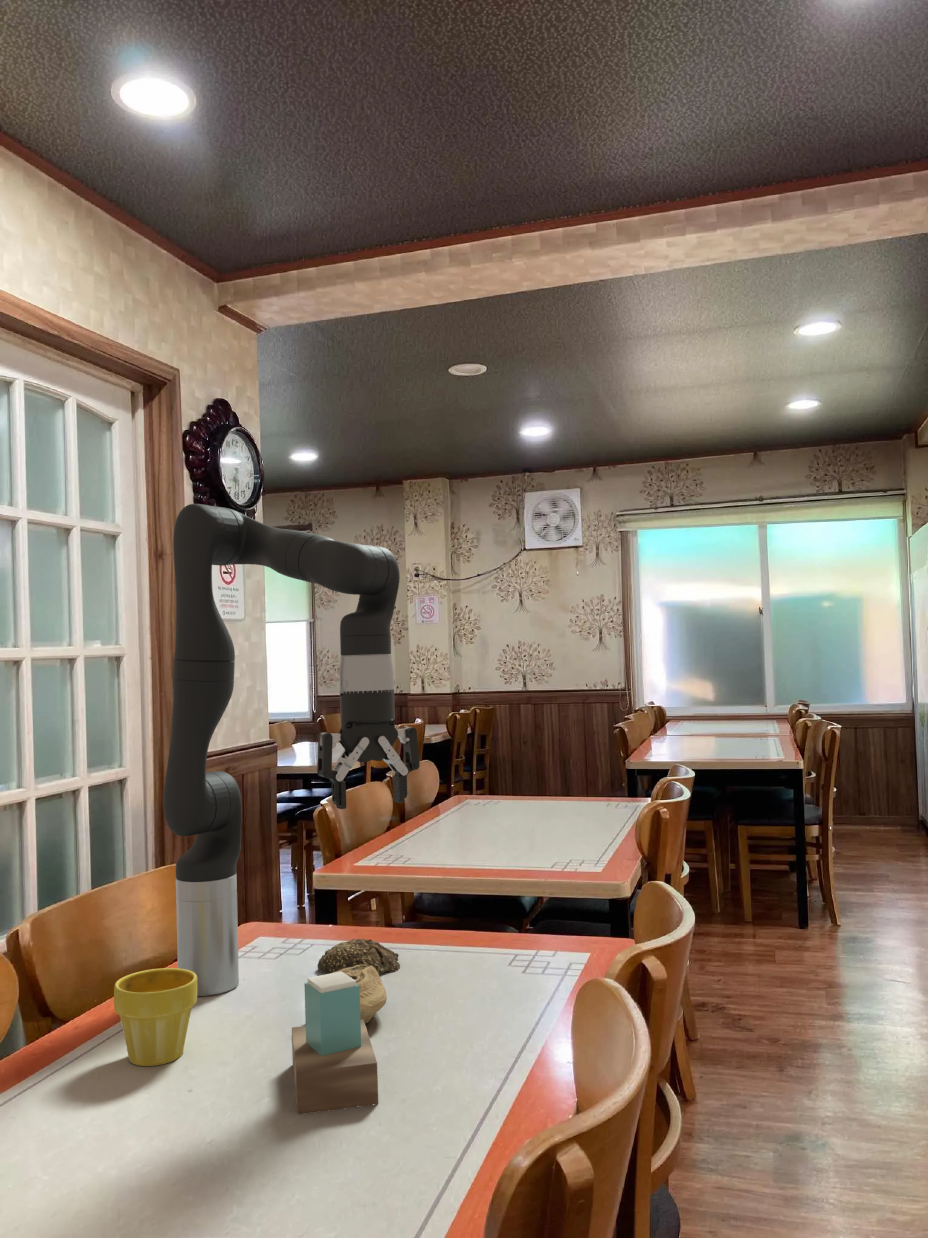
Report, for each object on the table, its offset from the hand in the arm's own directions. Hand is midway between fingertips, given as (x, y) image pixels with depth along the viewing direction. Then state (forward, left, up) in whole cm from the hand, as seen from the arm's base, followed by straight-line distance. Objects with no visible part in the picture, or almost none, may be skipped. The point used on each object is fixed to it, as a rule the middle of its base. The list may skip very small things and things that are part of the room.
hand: (370, 805), depth 135 cm
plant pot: (-6, -28, -30) cm, 42 cm away
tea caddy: (+14, -11, -26) cm, 31 cm away
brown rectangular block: (+14, -11, -30) cm, 35 cm away
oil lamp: (-5, -2, -30) cm, 31 cm away
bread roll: (-26, +8, -31) cm, 41 cm away
